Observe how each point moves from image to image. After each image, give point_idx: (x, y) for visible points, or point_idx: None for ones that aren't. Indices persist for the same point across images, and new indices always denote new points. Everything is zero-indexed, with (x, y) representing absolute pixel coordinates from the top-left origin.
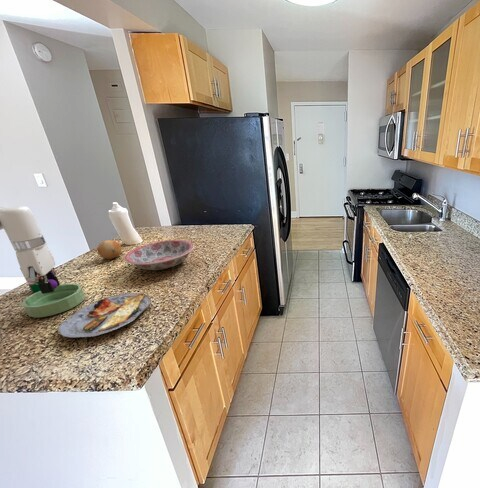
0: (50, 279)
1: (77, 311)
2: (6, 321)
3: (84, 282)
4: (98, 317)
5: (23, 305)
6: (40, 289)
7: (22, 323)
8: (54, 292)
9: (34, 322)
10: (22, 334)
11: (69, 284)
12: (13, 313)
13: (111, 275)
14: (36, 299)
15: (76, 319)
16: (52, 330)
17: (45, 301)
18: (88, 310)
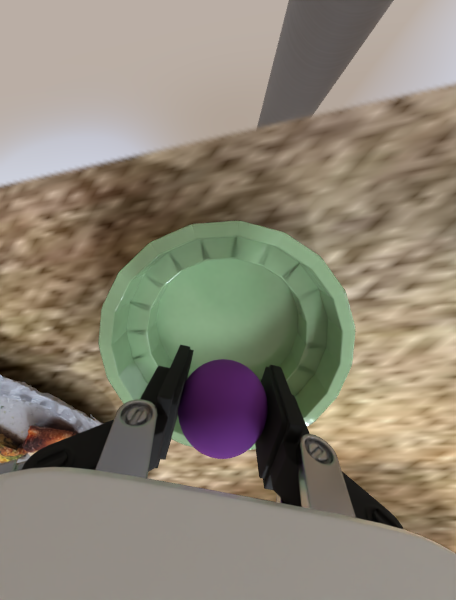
0: (236, 453)
1: (67, 406)
2: (207, 143)
3: (409, 392)
4: (1, 450)
5: (165, 236)
6: (172, 363)
7: (140, 216)
8: (324, 326)
9: (121, 259)
10: (37, 234)
11: (312, 409)
12: (283, 155)
13: (392, 469)
14: (293, 260)
15: (36, 393)
16: (18, 325)
17: (284, 283)
18: (83, 422)
